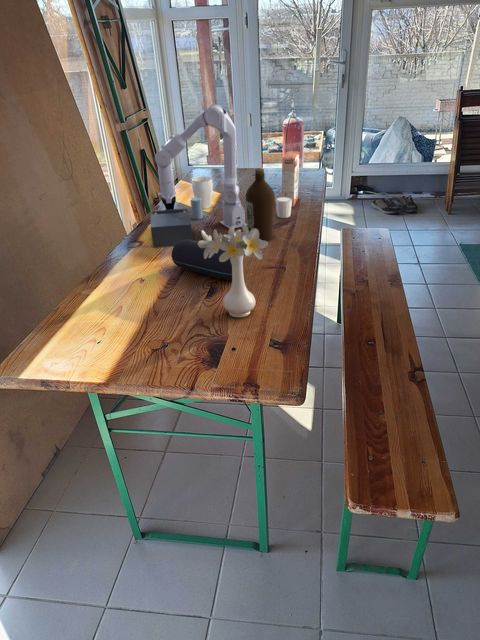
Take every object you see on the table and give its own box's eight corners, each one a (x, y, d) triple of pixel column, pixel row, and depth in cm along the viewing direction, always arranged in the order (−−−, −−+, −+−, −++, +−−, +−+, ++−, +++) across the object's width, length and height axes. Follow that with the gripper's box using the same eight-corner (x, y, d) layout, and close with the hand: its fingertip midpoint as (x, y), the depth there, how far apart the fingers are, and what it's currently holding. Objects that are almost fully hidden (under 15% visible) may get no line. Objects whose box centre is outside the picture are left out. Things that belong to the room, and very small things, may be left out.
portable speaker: (249, 275, 161) (249, 246, 155) (233, 287, 154) (231, 257, 148) (188, 260, 172) (185, 233, 166) (170, 271, 165) (166, 242, 159)
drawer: (154, 223, 201) (152, 209, 198) (188, 221, 203) (186, 207, 200) (154, 236, 189) (152, 221, 186) (190, 233, 191) (188, 219, 188)
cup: (213, 209, 218) (211, 181, 211) (192, 209, 218) (189, 182, 211) (215, 203, 225) (213, 176, 219) (195, 203, 225) (192, 176, 219)
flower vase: (211, 300, 147) (204, 217, 133) (272, 304, 144) (272, 220, 131) (199, 322, 137) (190, 235, 123) (265, 327, 134) (263, 238, 120)
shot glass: (292, 213, 212) (292, 196, 208) (291, 218, 207) (291, 201, 203) (276, 212, 213) (276, 196, 209) (274, 218, 207) (274, 201, 203)
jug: (191, 215, 211) (190, 197, 207) (202, 215, 212) (200, 196, 208) (192, 220, 206) (190, 201, 202) (203, 219, 207) (201, 200, 203)
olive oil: (269, 230, 195) (269, 164, 181) (278, 240, 186) (278, 171, 173) (243, 234, 192) (241, 167, 178) (251, 243, 184) (249, 174, 170)
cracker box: (294, 208, 218) (295, 158, 206) (280, 207, 219) (281, 157, 207) (298, 198, 229) (300, 151, 218) (286, 197, 230) (286, 150, 219)
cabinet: (153, 233, 194) (150, 214, 190) (190, 230, 196) (189, 211, 192) (153, 247, 182) (150, 227, 178) (193, 244, 184) (191, 224, 180)
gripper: (156, 177, 199) (160, 210, 207) (156, 187, 187) (160, 222, 195) (174, 176, 200) (177, 209, 208) (175, 186, 188) (178, 221, 196)
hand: (170, 215), depth 201 cm, fingers closed
